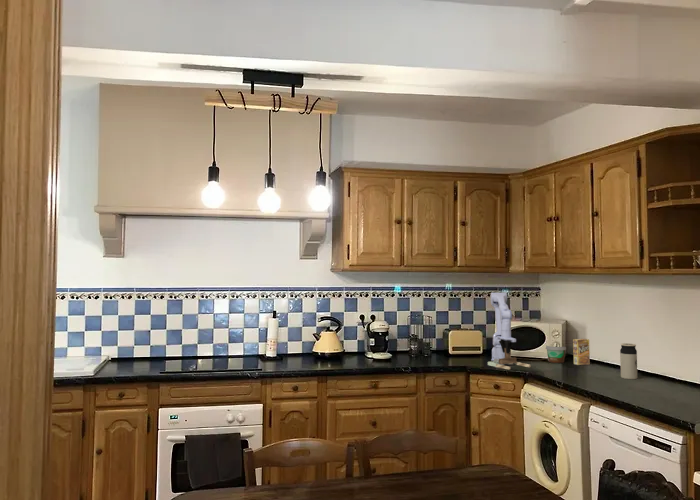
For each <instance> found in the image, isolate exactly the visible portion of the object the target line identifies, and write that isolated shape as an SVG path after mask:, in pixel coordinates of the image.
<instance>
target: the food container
mask: <svg viewBox="0 0 700 500" xmlns="http://www.w3.org/2000/svg"><path fill="white" fill-rule="evenodd" d="M545 349H546V353H547V361H548V362H549V363H551V364H552V363H553V364H562V363H565V355H566V351H567V347H566V346H550V345H546V346H545Z"/></svg>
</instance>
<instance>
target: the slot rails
mask: <svg viewBox="0 0 700 500" xmlns="http://www.w3.org/2000/svg"><path fill="white" fill-rule="evenodd" d="M516 366H521V367H526V368H531V364H528V363H525V362H520V361H517V363H516ZM495 368H500V369H504V370H511V366H508V365H505V364H504V365H499V364H496V367H495Z"/></svg>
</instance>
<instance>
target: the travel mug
mask: <svg viewBox="0 0 700 500" xmlns="http://www.w3.org/2000/svg"><path fill="white" fill-rule="evenodd" d="M620 346H621V347H620V349H619V350H620V351H619V353H620V357H619V358H620V360H619V361H620V378H621V379H624V380H637V379H638V350H637V348H636V346H637V344H636V343H625V342H624V343H620Z"/></svg>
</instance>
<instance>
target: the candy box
mask: <svg viewBox="0 0 700 500" xmlns="http://www.w3.org/2000/svg"><path fill="white" fill-rule="evenodd" d="M572 342H573V343H572V347H573V349H572V350H573V365H576V366H580V365H581V366H584V365H586V366H587V365H590V363H591V362H590V360H591V358H590V357H591V356H590V339H588V338H574V339H572Z"/></svg>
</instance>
